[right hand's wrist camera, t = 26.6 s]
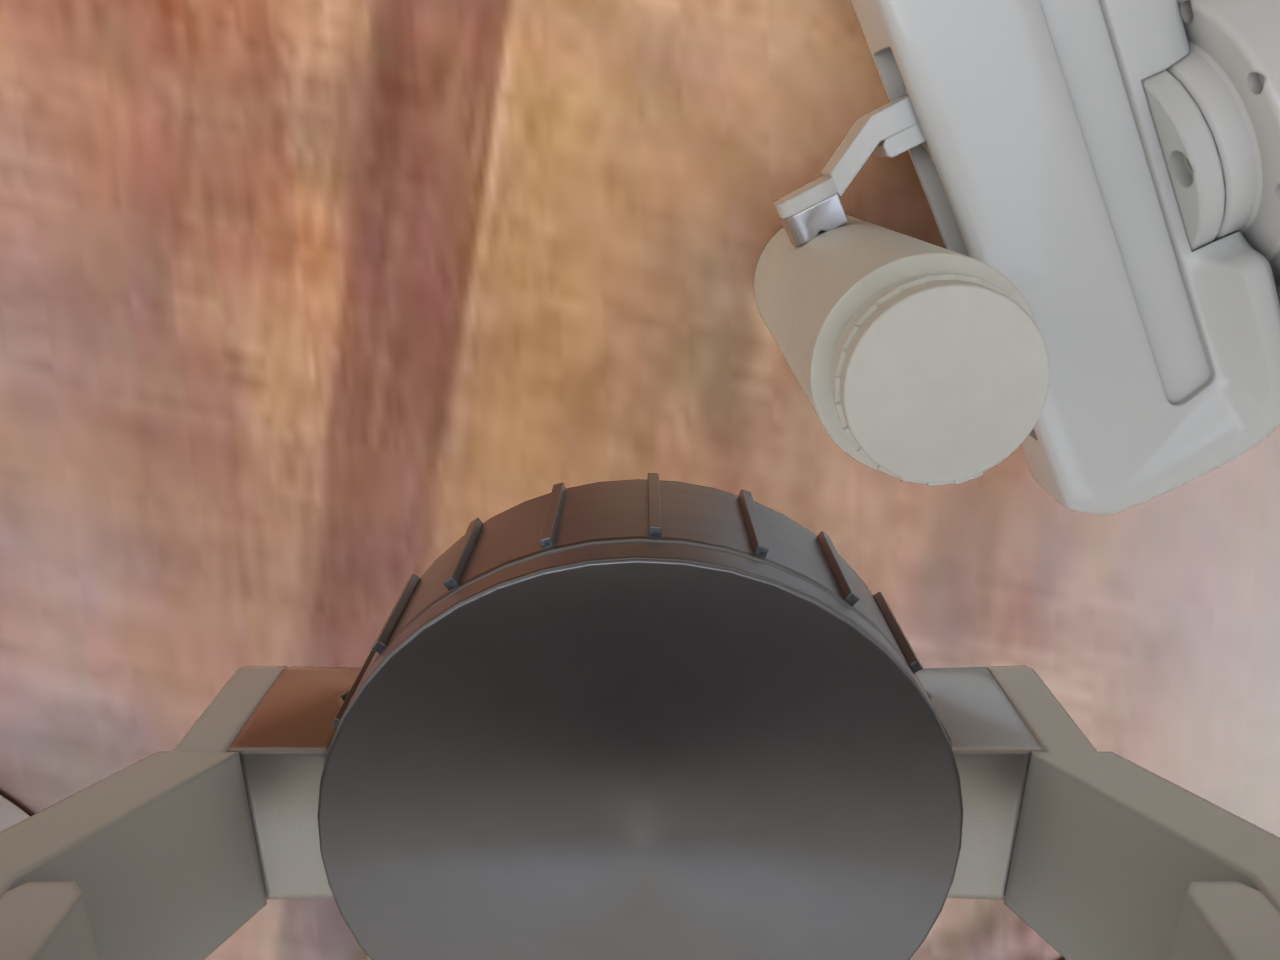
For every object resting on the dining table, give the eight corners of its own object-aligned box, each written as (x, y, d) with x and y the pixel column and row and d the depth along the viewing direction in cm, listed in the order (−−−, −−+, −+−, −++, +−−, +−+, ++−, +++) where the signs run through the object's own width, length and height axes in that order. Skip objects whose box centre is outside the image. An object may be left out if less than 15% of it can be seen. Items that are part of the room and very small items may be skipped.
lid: (1020, 634, 10) (1109, 746, 8) (729, 993, 11) (745, 1152, 10) (522, 365, 9) (489, 422, 7) (289, 806, 10) (215, 944, 9)
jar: (736, 240, 34) (791, 313, 19) (870, 190, 33) (1045, 223, 18) (777, 368, 36) (859, 533, 20) (906, 323, 35) (1094, 459, 19)
